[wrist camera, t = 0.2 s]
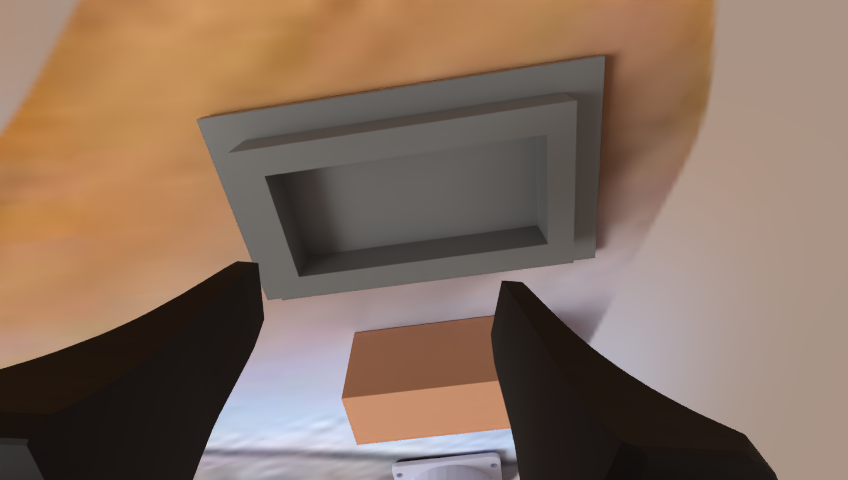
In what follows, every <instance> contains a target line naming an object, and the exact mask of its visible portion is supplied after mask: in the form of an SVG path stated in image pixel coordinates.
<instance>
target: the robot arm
mask: <svg viewBox="0 0 848 480" xmlns="http://www.w3.org/2000/svg"><path fill="white" fill-rule="evenodd" d="M263 321H264V312H263V302H262V292H261V282H260V273H259V263H254V262H240V261H237V262H235V263H233V264H231V265H229V266H228V267H226V268H224V269H223V270H221V271H219V272H218V273H216V274H214V275H213V276H211V277H210V278H208V279H206V280H205V281H203V282H201V283H200V284H198V285H196V286H195V287H193V288H191V289H190V290H188V291H186V292H185V293H183V294H181V295H180V296H178V297H176V298H174V299H172V300H171V301H169V302H167V303H165V304H163V305H161V306H160V307H158V308H156V309H154V310H152V311H150V312H149V313H147V314H145V315H143V316H141V317H139V318H137V319H135V320H133V321H130V322H128V323H126V324H124V325H122V326H119V327H117V328H115V329H113V330H111V331H108V332H106V333H104V334H101V335H99V336H96V337H93V338H91V339H88V340H86V341H83V342H80V343H78V344H75V345H73V346H70V347H67V348H65V349H62V350H59V351H57V352H54V353H51V354H48V355H45V356H42V357H39V358H36V359H33V360H29V361H26V362H23V363H20V364H16V365H13V366H10V367H6V368H3V369H0V480H193V478H194V475H195V473H196V470H197V467H198V465H199V462H200V459H201V457H202V454H203V452H204V449H205V447H206V444H207V442H208V439H209V437H210V434H211V432H212V429H213V427H214V425H215V423H216V421H217V419H218V417H219V414H220V413H221V411H222V409H223V407H224V405H225V403H226V401H227V399H228V397H229V395H230V393H231V392H232V390H233V388H234V386H235V384H236V382H237V380H238V378H239V376H240V374H241V373H242V371H243V369H244V367H245V365H246V363H247V361H248V359H249V357H250V355H251V353H252V351H253V349H254V347H255V344H256V341H257V339H258V336H259V333H260V330H261V327H262V324H263ZM491 341H492V350H493V358H494V365H495V369H496V373H497V377H498V381H499V384H500V388H501V392H502V396H503V400H504V404H505V407H506V411H507V415H508V419H509V423H510V426H511V430H512V435H513V440H514V444H515V450H516V457H517V463H518V470H519V476H520V480H778V479H777V477H776V474H775V472H774V471H773V470H772V469H771V467H770V466H769V465H768V463H767V462H766V461H765V460H764V459H763V457H762V456H761V455H760V453H759V452H758V451H757V449H756V448H755V447H754V445H753V444H752V443H751V442H750V440H749V439H748V438H747V436H746V435H744V434H743V433H740V432H738V431H736V430H734V429H731V428H729V427H727V426H725V425H723V424H721V423H718V422H716V421H714V420H712V419H710V418H707V417H705V416H703V415H701V414H698V413H697V412H695V411H692V410H691V409H688V408H687V407H685V406H683V405H681V404H679V403H677V402H675V401H673V400H672V399H670V398H668V397H666V396H664V395H662V394H661V393H659V392H657V391H655V390H654V389H651V388H650V387H649V386H647V385H645V384H644V383H642V382H641V381H639V380H637V379H636V378H634V377H632V376H631V375H629V374H628V373H626V372H625V371H623V370H622V369H620V368H619V367H617V366H616V365H615V364H613V363H612V362H611V361H609V360H608V359H606V358H605V357H604V356H602V355H601V354H599V353H598V352H597V351H596V350H594V349H593V348H592V347H591V346H589V345H588V344H587V343H586V342H585V341H583V340H582V339H581V338H580V337H579V336H578V335H576V334H575V333H574V332H573V331H572V330H571V329H570V328H569V327H567V326H566V325H565V324H564V323H563V322H562V321H561V320H560V319H559V318H558V317H557V316H556V315H555V314H554V313H553V312H552V311H551V310H550V309H549V308H548V307H547V306H546V305H545V304H544V303H543V302H542V301H541V300H540V299H539V298H538V297H537V296H536V295H535V294H534V293H533V292H532V291H531V290H530V289H529V288H528V287H527V286H526V285H525V284H524V283H523V282H514V281H502V283H501V288H500V292H499V297H498V302H497V306H496V311H495V316H494V321H493V325H492V330H491ZM392 473H393V476H394V480H502V471H501V461H500V456H499V454H498V453H495V452H491V453H482V454H472V455H463V456H453V457H443V458H434V459H424V460H415V461H405V462H397V463H394V464H393V465H392Z"/></svg>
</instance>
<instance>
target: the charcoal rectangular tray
mask: <svg viewBox="0 0 848 480" xmlns="http://www.w3.org/2000/svg"><path fill="white" fill-rule="evenodd" d="M604 70H605V56H603V55H595V56H588V57H582V58H576V59H569V60H563V61H556V62H550V63H544V64H537V65H531V66H524V67H518V68H512V69H505V70H499V71H493V72H486V73H480V74H473V75H467V76H461V77H454V78H448V79H441V80H435V81H429V82H422V83H416V84H410V85H403V86H397V87H390V88H384V89H378V90H371V91H365V92H358V93H352V94H346V95H339V96H333V97H327V98H320V99H314V100H307V101H301V102H295V103H288V104H282V105H275V106H269V107H263V108H256V109H250V110H244V111H237V112H231V113H224V114H218V115H212V116H205V117H201V118H199V119H197V122H198V125H199V128H200V130H201V133H202V135H203V138H204V140H205V143H206V145H207V148H208V150H209V153H210V155H211V158H212V160H213V163H214V166H215V168H216V171H217V173H218V176H219V178H220V181H221V183H222V186H223V188H224V191H225V193H226V196H227V199H228V201H229V204H230V206H231V209H232V211H233V214H234V216H235V219H236V221H237V224H238V226H239V229H240V231H241V234H242V237H243V239H244V242H245V244H246V247H247V249H248V252H249V254H250V257H251V259H252V262H254V263H259V273H260V282H261V285H262V287H263V290H264V292H265V295H266V297H267V300H272V299H280V298H282V300H287V299H295V298H303V297H311V296H318V295H326V294H334V293H342V292H349V291H357V290H365V289H372V288H380V287H388V286H396V285H403V284H411V283H419V282H427V281H434V280H442V279H450V278H458V277H465V276H473V275H481V274H489V273H496V272H504V271H512V270H520V269H527V268H535V267H543V266H551V265H558V264H566V263H573V261H574V260H581V259H589V258H595V248H596V228H597V209H598V189H599V169H600V149H601V130H602V110H603V90H604Z"/></svg>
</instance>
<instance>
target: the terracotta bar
mask: <svg viewBox="0 0 848 480" xmlns="http://www.w3.org/2000/svg"><path fill="white" fill-rule="evenodd" d="M493 321H494V316H488V317H479V318H471V319H463V320H455V321H447V322H439V323H431V324H423V325H415V326H407V327H399V328H390V329H382V330H374V331H366V332H358V333H354V338H353V343H352V348H351V354H350V359H349V364H348V369H347V374H346V379H345V384H344V389H343V394H342V401H343V404H344V407H345V410H346V413H347V416H348V419H349V422H350V425H351V428H352V431H353V434H354V437H355V440H356V443H357V445H359V444H369V443H378V442H387V441H396V440H406V439H415V438H424V437H433V436H443V435H452V434H461V433H470V432H480V431H489V430H498V429H507V428H511V426H510V423H509V419H508V415H507V411H506V407H505V404H504V400H503V396H502V392H501V388H500V384H499V381H498V377H497V373H496V369H495V365H494V358H493V350H492V341H491V330H492V325H493Z"/></svg>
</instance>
